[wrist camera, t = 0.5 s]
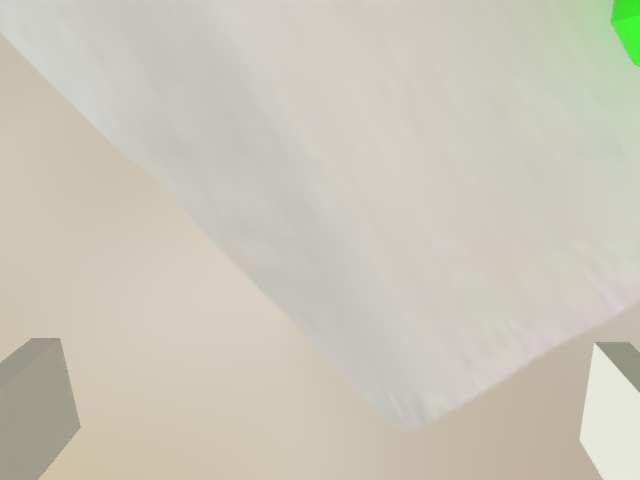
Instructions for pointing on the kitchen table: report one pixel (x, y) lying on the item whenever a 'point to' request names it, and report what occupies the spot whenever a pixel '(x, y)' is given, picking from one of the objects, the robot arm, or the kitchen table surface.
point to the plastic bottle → (628, 26)
